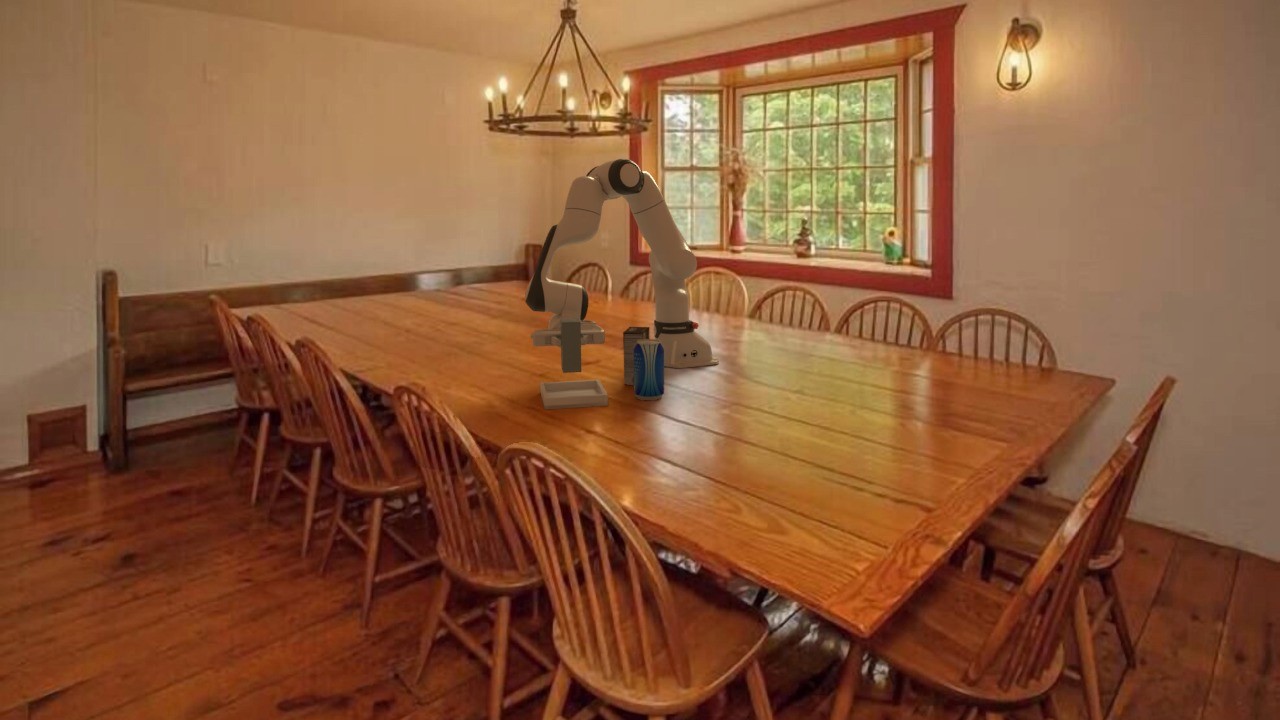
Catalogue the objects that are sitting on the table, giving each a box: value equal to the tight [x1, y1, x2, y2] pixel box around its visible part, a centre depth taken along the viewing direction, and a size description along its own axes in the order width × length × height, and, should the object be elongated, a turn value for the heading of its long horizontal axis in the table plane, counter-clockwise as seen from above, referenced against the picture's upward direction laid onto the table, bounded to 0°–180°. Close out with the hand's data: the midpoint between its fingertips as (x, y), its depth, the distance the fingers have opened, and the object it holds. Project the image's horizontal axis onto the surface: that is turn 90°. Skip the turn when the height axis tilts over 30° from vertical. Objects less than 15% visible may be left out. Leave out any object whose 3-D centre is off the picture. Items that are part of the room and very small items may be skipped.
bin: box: [539, 378, 609, 411], centre depth 219 cm, size 17×17×3 cm
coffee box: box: [622, 326, 651, 386], centre depth 235 cm, size 9×6×16 cm
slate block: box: [560, 319, 582, 374], centre depth 215 cm, size 5×5×14 cm
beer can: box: [633, 338, 665, 401], centre depth 218 cm, size 8×8×16 cm
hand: (571, 342), depth 214 cm, fingers closed on slate block, 5 cm apart
